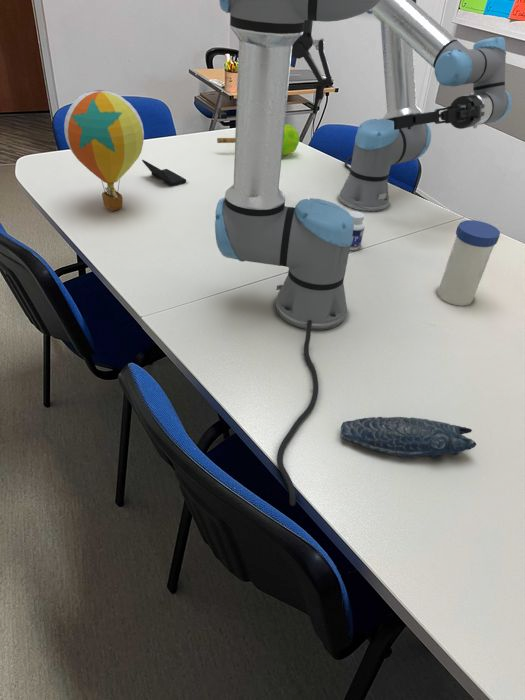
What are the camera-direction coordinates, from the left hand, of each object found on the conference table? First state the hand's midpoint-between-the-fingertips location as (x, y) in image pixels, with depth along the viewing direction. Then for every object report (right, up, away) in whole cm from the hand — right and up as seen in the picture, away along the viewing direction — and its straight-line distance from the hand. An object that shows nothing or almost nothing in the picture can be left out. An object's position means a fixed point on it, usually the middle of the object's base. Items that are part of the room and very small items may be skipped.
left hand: (288, 109), depth 135 cm
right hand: (+29, -10, -16) cm, 35 cm away
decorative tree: (-8, +9, +55) cm, 56 cm away
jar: (+38, -50, -13) cm, 64 cm away
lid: (+40, -37, -23) cm, 59 cm away
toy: (-49, -23, +11) cm, 55 cm away
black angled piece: (-38, -9, +29) cm, 49 cm away
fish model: (+16, -78, -50) cm, 94 cm away
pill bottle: (+16, -35, +3) cm, 39 cm away
